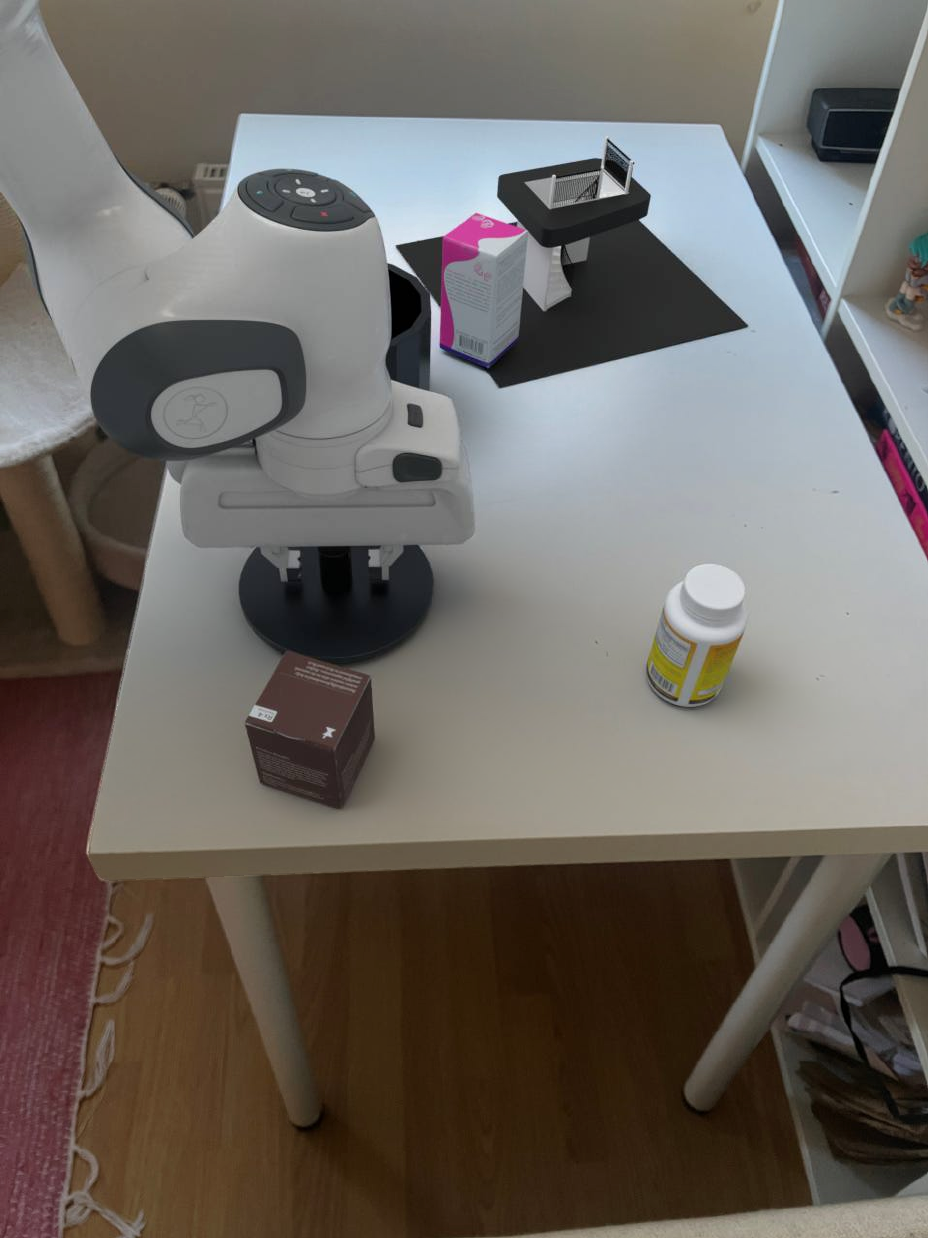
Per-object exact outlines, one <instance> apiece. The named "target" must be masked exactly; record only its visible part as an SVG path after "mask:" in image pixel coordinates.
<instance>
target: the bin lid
mask: <svg viewBox="0 0 928 1238" xmlns="http://www.w3.org/2000/svg"><path fill="white" fill-rule="evenodd" d="M381 546H382V545H380V546H308V547H287V548H288V549H289V550H300V553H301V561H302V573H301V581H290V582H281V577H280V571H279V568H277V567H276V566H275V565H274V564H272V563H271V562H270V561H269V560H268V559H267V558H266V557H264V556H263V555H262V554H261V549H260V547H254V549H253V550H252V552H251V553H250V554H249V556H248V558H247V559H246V561H245V562H244V565H243V567H242V570H241V573H240V577H239V580H238V597H239V604H240V608H241V611H242V613H243V617H244V618H245V620H246V622H247V624H248V626H249V627H250V628H251V629H252V631H253V632H254V633H255V634H256V635H257V637H259V639H261V640H263V642H264V643H266V644H268V645H269V646H270V647H271V648H273V649H275V650H277V651H279V652H280V653H282V654H285V652H286V651H291V652H294V653H297V654H300V655H304V656H307V657H310V658H314V659H317V660H320V661H324V662H327V663H331V664H341V663H342V664H344V663H353V662H357V661H363V660H366V659H369V658H373V657H376V656H379V655H381V654H383V653H385V652H388V651H390V650H392V649H393V648H395V647H396V646H399V645H401V643H403V642H404V641H405V640H407V639H408V638H409V637H410V636H411V635H412V634H413V633H414V632H416V630H417V629H418V628H419V626H420V625H421V624H422V623H423V621H424V619H425V618H426V617H427V615H428V612H429V610H430V607H431V606H432V601H433V598H434V597H433V596H434V582H435V581H434V574H433V569H432V567H431V562H430V561H429V559H428V557H427V555H426V553H425V552H424V551H423V549H422V548H421V546H420V545H403V553H402V554H401V555H400V556H399V557H398V558H397V559H396V560H395V561H394V563H393V564H392V565H391V566H389V580H369V549H380V547H381Z"/></svg>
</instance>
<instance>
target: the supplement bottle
mask: <svg viewBox="0 0 928 1238" xmlns="http://www.w3.org/2000/svg"><path fill="white" fill-rule="evenodd" d="M745 597H746V586H745V583H744V581H743V580H742V578H741V577H740V576H739V575H738V574H737V573H736V572H735V571H733V570H732V569H731V568H729V567H726V566H723V565H720V564H716V563H703V564H699V565H697V566H694V567H692V568H691V569H690V570H689V571H688V572H687V574H686V575H685V577H684V580H682V581H680V582H678V583H677V584H675V585H674V586H673V587H672V588H671V589H670V591H669V592H668V593H667V594H666V597H665V600H664V602H663V607H662V610H661V614H660V617H659V620H658V624H657V628H656V631H655V634H654V638H653V641H652V643H651V648H650V650H649V651H650V652H649V655H648V658H647V660H646V661H647V662H646V666H645V667H646V668H645V671H646V672H645V673H646V679H647V681H648V684H649V686H650V688H651V689H652V691H654V693H655V694H656V695H658V696H659V697H660V698H662V700H664V701H666V702H668V703H669V704H673V705H676V706H680V707H684V708H693V707H695V708H696V707H700V706H703V705H706V704H709V703H710V702H712V701H713V700H715V698H716V697H717V696H718V695H719V694H720V692H721V690H722V688H723V686H724V683H725V680H726V678H727V675H728V673H729V671H730V668H731V666H732V663H733V660H734V659H735V656H736V653H737V652H738V649H739V647H740V643H741V642H742V638H743V636H744V633H745V631H746V629H747V625H748V623H749V609H748V606H747V603H746V602H745Z"/></svg>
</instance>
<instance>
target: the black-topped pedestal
mask: <svg viewBox="0 0 928 1238" xmlns="http://www.w3.org/2000/svg"><path fill="white" fill-rule="evenodd" d="M604 138H605V139H604V144H603V151H602V158H598V157H593V158H588V159H587V158H586V159H581V160H575V161H571V162H563V163H559V164H554V165H548V166H542V167H537V168H531V169H526V170H519V171H514V172H508V173H503V174H500V175H499V176H498V178H497V190H496V191H497V192H496V197H497V199H498V200H499V201H500V202H501V203H502V205H504V206H505V208H506V209H507V210H508V211H509V212H510V213H511V214H512V215H513V216H514V218H515V219H516V220H517V221H513V222H509V223H507V224H510V225H513V226H515V227H519V228H521V229H524V230H527V231H528V241H527V252H526V262H525V272H524V283H523V294H522V303H521V313H520V325H519V335H518V341H517V342H516V343H515V344H514V345H513V346H512V347H511V348H510V349H509V350H507V351H506V352H505V353H504V354H503V355H502V356H501V357H500V358H499V359H498V360H497V361H496V362H495V363H494V364H493V365H492V366H490V367H489V368H487V367H484V369H485V370H486V371H487V373H488V374H489V376H490V377H491V379H492V380H493V381H494V383H496V385H497V386H498V388H502V387H506V386H509V385H513V384H518V383H521V382H527V381H530V380H534V379H538V378H541V377H545V376H550V375H554V374H558V373H563V372H566V371H567V372H568V371H570V370H574V369H579V368H583V367H586V366H591V365H594V364H599V363H603V362H606V361H611V360H615V359H619V358H622V357H623V358H625V357H627V356H631V355H635V354H639V353H644V352H648V351H651V350H656V349H660V348H664V347H668V346H672V345H676V344H680V343H684V342H688V341H692V340H696V339H700V338H704V337H708V336H713V335H717V334H721V333H724V332H729V331H732V330H738V329H741V328H745V327H749V324H748V323H747V322H746V321H744V320H743V318H742V317H740V316H739V315H738V314H737V312H735V311H734V310H733V309H732V308H731V307H730V306H729V305H728V304H727V303H726V302H725V301H724V300H723V299H722V298H721V297H720V296H719V295H717V293H715V291H713V290H712V289H711V288H710V287H709V285H707V284H706V283H705V282H704V281H703V280H702V279H701V278H700V277H699V276H698V275H697V274H696V273H694V271H692V270H691V269H690V268H689V266H687V265H686V263H684V262H683V260H681V259H680V258H679V257H678V256H677V255H676V254H675V253H674V252H673V251H672V250H671V249H670V248H669V247H668V246H667V245H665V243H664V242H662V241H661V240H660V239H659V238H658V237H657V236H656V235H655V234H654V233H653V232H652V231H651V230H650V229H649V228H648V227H647V226H646V225H645V224H644V223H643V222H642V221H641V219H643V218H646V217H647V216H648V214H649V209H650V203H651V198H652V194H651V193H649V191H648V190H647V189H646V188H645V187H643V186H642V185H641V183H639V182H638V181H637V180H636V178H634V177H633V176H632V175H633V171H634V165H635V162H634V160H632V158H630V157H629V156H628V155H627V154H626V153H625V152H623V151H622V150H621V149H620V148H619V147H618V146H617V145H616V144H615V143H613V141H611V140H610V136H608V135H605V137H604ZM444 236H445V235H442V236H436V237H430V238H426V239H425V238H424V239H420V240H416V241H410V242H405V243H400V244H395V246H394V247H396V249H397V250H398V251H399V252H400V255H402V257H403V258H404V260H405V262H407V264H408V265H409V266H410V268H411V269H412V270H413V272H414V273H415V275H416V277H417V278H418V280H419V281H420V282H421V283H422V284H423V286H424V287H425V288H426V289H427V291H428V292H429V293H430V296H432V298H433V299H434V301H435V302H436V303H437V304H438V306H439V308H441V283H442V250H443V237H444Z"/></svg>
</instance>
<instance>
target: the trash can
mask: <svg viewBox="0 0 928 1238" xmlns="http://www.w3.org/2000/svg"><path fill="white" fill-rule="evenodd" d="M387 265H388V274H389V285H390V300H391V327H392V328H391V340H390V345H389V348H388V351H387V354H386V358H385V363H386V368H387V370H388V373H389V376H390V379H391V380H393V381H396V382H399V383H402V384H405V385H408V386H412V387H415V388H419V389H423V390H426V391H430V392H431V389H430V388H431V349H432V344H431V343H432V302H431V300H432V299H431V294H430V292H429V291H428V289H427V288H426V287H425V285H424V284H423V283H422V281H421V280H420V279H419V277H418V276H415V275H413V274H412V273H410V272H408V271H407V270H404V269H402V268H400V267H399V266H397V265H395V264H392V263H389V262H387Z"/></svg>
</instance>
